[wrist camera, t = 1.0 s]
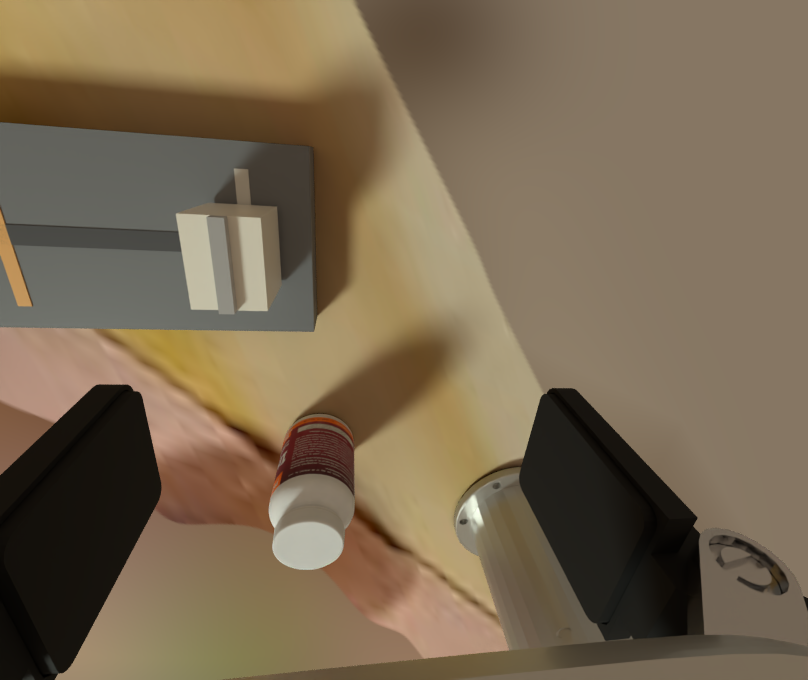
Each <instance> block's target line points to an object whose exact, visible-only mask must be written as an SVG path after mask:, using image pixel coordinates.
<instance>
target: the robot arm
mask: <svg viewBox="0 0 808 680" xmlns="http://www.w3.org/2000/svg"><path fill="white" fill-rule="evenodd" d="M160 495H161V480H160V476H159V471H158V467H157V462H156V458H155V453H154V449H153V444H152V440H151V435H150V430H149V426H148V421H147V417H146V412H145V408H144V403H143V399H142V396H141V394H140V392H137V391H133V389H132V387H131V386H129V385H96V386H94V387H93V388H92V389H91V390H90V391H89V392H88V393H87V394H85V395H84V396H83V397H82V398H81V399H80V400H79V401H78V402H77V403H76V404H75V405H74V406H73V407H72V408H71V409H70V410H69V411H68V412H67V413H65V414H64V415H63V416H62V417H61V418H60V419H59V420H58V421H57V422H56V423H55V424H54V425H53V426H52V427H51V428H50V429H49V430H48V431H47V432H45V433H44V434H43V435H42V436H41V437H40V438H39V439H38V440H37V441H36V442H35V443H34V444H33V445H32V446H31V447H30V448H29V449H28V450H26V452H24V453H23V454H22V455H21V456H20V457H19V458H18V459H17V460H16V461H15V462H14V463H13V464H12V465H11V466H10V467H9V468H8V469H7V470H5V471H4V472H3V474H1V475H0V680H55V678H56V676H57V674H58V673H64V672H65V671H66V670H67V669H68V668H69V667H70V666H71V664H72V663H73V661H74V659H75V658H76V656H77V654H78V652H79V650H80V648H81V646H82V644H83V642H84V641H85V639H86V637H87V635H88V633H89V631H90V629H91V627H92V626H93V624H94V622H95V620H96V618H97V616H98V614H99V612H100V610H101V609H102V607H103V605H104V603H105V601H106V599H107V597H108V595H109V593H110V592H111V590H112V588H113V586H114V584H115V582H116V580H117V578H118V576H119V575H120V573H121V571H122V569H123V567H124V565H125V563H126V561H127V559H128V557H129V555H130V554H131V552H132V550H133V548H134V546H135V544H136V542H137V541H138V538H139V537H140V535H141V533H142V531H143V529H144V527H145V525H146V524H147V522H148V520H149V518H150V516H151V514H152V512H153V510H154V508H155V507H156V505H157V503H158V501H159V498H160ZM696 520H697V517H696V516H695V515H694V514H693V512H692V511H691V510H690V509H689V508H688V507H687V506H686V505H685V504H684V503H683V502H682V501H681V500H680V499H679V498H678V496H676V494H675V493H674V492H673V491H672V490H671V489H670V488H669V487H668V486H667V485H666V484H665V483H664V482H663V481H662V480H661V479H660V478H659V476H657V474H656V473H655V472H654V471H653V470H652V469H651V468H650V467H649V466H648V465H647V464H646V463H645V462H644V461H643V460H642V459H641V458H640V456H639V455H638V454H637V453H636V452H635V451H634V450H633V449H632V448H631V447H630V446H629V445H628V444H627V443H626V442H625V441H624V440H623V439H622V438H621V437H620V435H619V434H618V433H617V432H615V430H614V429H613V428H612V427H611V426H610V425H609V424H608V423H607V422H606V421H605V420H604V419H603V418H602V417H601V415H600V414H599V413H598V412H597V411H596V410H595V409H594V408H593V407H592V406H591V405H590V404H589V403H588V402H587V401H586V400H585V399H584V398H583V397H582V396H581V395H580V393H579V392H578V391H577V390H575V389H572V388H552V389H550V390H549V391H548V392H547V394H544V395H542V397H541V399H540V402H539V406H538V409H537V413H536V416H535V420H534V424H533V427H532V431H531V434H530V438H529V441H528V445H527V448H526V452H525V456H524V459H523V463H522V466H521V467H514V468H509V469H504V470H501V471H498V472H495V473H493V474H491V475H489V476H487V477H485V478H483V479H481V480H480V481H478V482H477V483H476V484H474V485H473V486H472V487H471V488H470V489H469V490H468V491H467V492H466V493H465V494H464V495H463V497H462V498H461V499H460V501H459V503H458V505H457V507H456V510H455V514H454V527H455V530H456V534H457V537H458V539H459V541H460V543H461V544H462V545H463V546H464V548H465V549H467V550H468V551H470V552H471V553H473V554H475V555H477V556H479V558H480V561H481V564H482V567H483V570H484V573H485V576H486V579H487V583H488V586H489V589H490V592H491V595H492V598H493V601H494V604H495V607H496V611H497V614H498V617H499V620H500V623H501V626H502V629H503V632H504V635H505V639H506V642H507V645H508V648H509V651H499V652H488V653H478V654H468V655H458V656H448V657H438V658H428V659H418V660H408V661H398V662H388V663H379V664H369V665H358V666H348V667H339V668H329V669H320V670H309V671H300V672H291V673H280V674H270V675H262V676H252V677H243V678H233V679H224V680H808V598H806V597H804V596H803V594H802V591H801V588H800V586H799V583H798V581H797V579H796V577H795V576H794V574H793V573H792V572H791V571H790V569H789V568H788V567H787V566H786V565H785V563H784V562H782V561H781V560H780V559H779V558H778V557H777V556H776V555H774V554H773V553H772V552H771V551H770V550H768V549H767V548H765V547H764V546H762V545H761V544H759V543H758V542H756V541H754V540H752V539H750V538H748V537H746V536H744V535H742V534H739V533H736V532H734V531H730V530H727V529H720V528H711V529H706V530H705V531H704V532H702V533H701V534H700V533H699V532H698V531H697V530H696V529H695V528H694V527H693V525H694V523H695V522H696Z"/></svg>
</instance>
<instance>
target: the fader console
mask: <svg viewBox="0 0 808 680" xmlns="http://www.w3.org/2000/svg"><path fill="white" fill-rule="evenodd" d="M206 203H223V204H241V205H259V206H276V207H277V213H278V230H279V247H280V263H281V280H282V285H281V287H280V289H279V291H278V293H277V295H276V297H275V299H274V300H273V302H272V304H271V306H270V308H269V310H268V311H237V312H236V313H235V314H219V311H218V310H191V306H190V300H189V294H188V287H187V281H186V275H185V269H184V263H183V256H182V250H181V244H180V238H179V231H178V225H177V219H176V213H179V212H182V211H185V210H188V209H191V208H194V207H197V206H200V205H203V204H206ZM316 320H317V287H316V243H315V199H314V154H313V147H310V146H299V145H286V144H273V143H261V142H248V141H235V140H222V139H209V138H196V137H183V136H170V135H157V134H144V133H132V132H119V131H106V130H93V129H80V128H67V127H54V126H41V125H28V124H15V123H2V122H0V327H26V328H95V329H164V330H233V331H302V332H314V329H315V325H316Z"/></svg>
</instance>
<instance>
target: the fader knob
mask: <svg viewBox="0 0 808 680" xmlns="http://www.w3.org/2000/svg"><path fill="white" fill-rule="evenodd" d="M176 219H177V225H178V231H179V238H180V244H181V250H182V256H183V263H184V269H185V275H186V281H187V287H188V294H189V300H190V306H191V310H218V311H219V314H235V313H236V312H237V311H268V310H269V308H270V306H271V304H272V302H273V300H274V299H275V297H276V295H277V293H278V291H279V289H280V287H281V285H282V280H281V263H280V247H279V230H278V213H277V207H276V206H259V205H241V204H223V203H206V204H203V205H200V206H197V207H194V208H191V209H188V210H185V211H182V212H179V213H176Z"/></svg>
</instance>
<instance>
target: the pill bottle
mask: <svg viewBox="0 0 808 680" xmlns="http://www.w3.org/2000/svg"><path fill="white" fill-rule="evenodd" d="M354 504H355V492H354V438H353V435H352V432H351V430H350V429H349V427H348V426H347V425H346V424H345V423H344V422H343V421H342V420H340V419H338V418H336V417H334V416H331V415H327V414H313V415H308V416H305V417H303V418H301V419H299V420H297V421H296V422H295V423H294V424H293V425H292V426H291V427H290V428H289V429H288V431H287V433H286V436H285V439H284V443H283V447H282V452H281V456H280V461H279V465H278V469H277V473H276V478H275V482H274V486H273V491H272V495H271V499H270V504H269V517H270V520H271V523H272V525H273V526H274V528H275V529H274V537H273V544H272V548H273V552H274V555H275V556H276V558H277V559H278V560H279V561H280V562H281V563H283V564H285V565H286V566H289V567H291V568H295V569H301V570H311V569H317V568H321V567H324V566H326V565H329V564H330V563H332V562H334V561H335V560H336V559H337V558H338V557H339V556H340V554H341V552H342V551H343V547H344V537H345V529H346V528H347V527H348V525H349V524H350V522H351V520H352V517H353V514H354Z"/></svg>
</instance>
